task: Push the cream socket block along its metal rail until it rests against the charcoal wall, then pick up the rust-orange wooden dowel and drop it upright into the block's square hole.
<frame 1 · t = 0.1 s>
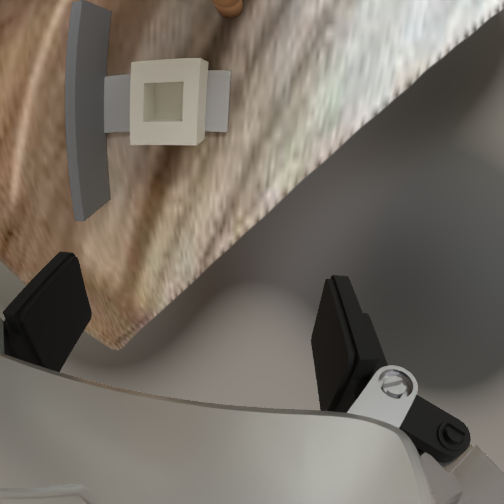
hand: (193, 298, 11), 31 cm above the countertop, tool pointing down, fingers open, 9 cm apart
socket block: (169, 101, 32), point 3 cm above the countertop, slide at 0.0 cm
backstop: (101, 104, 35), on the countertop
dowel: (230, 6, 29), on the countertop
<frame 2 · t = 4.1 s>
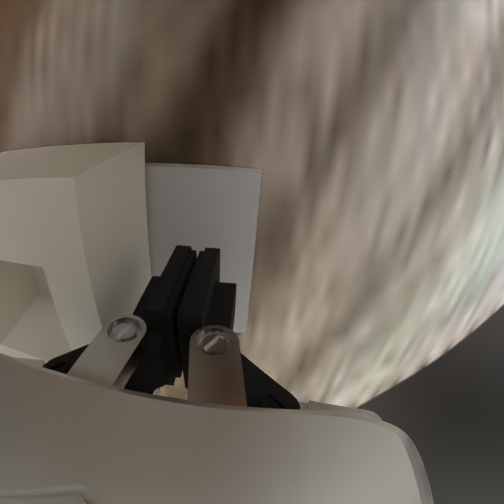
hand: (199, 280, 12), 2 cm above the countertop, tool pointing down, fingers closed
socket block: (47, 277, 11), point 3 cm above the countertop, slide at 1.8 cm, touching gripper
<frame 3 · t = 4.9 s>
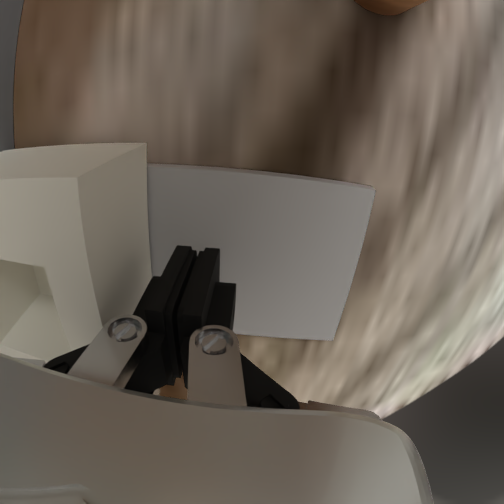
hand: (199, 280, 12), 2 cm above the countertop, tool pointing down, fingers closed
socket block: (47, 277, 11), point 3 cm above the countertop, slide at 6.3 cm, touching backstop, gripper
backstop: (18, 234, 14), on the countertop
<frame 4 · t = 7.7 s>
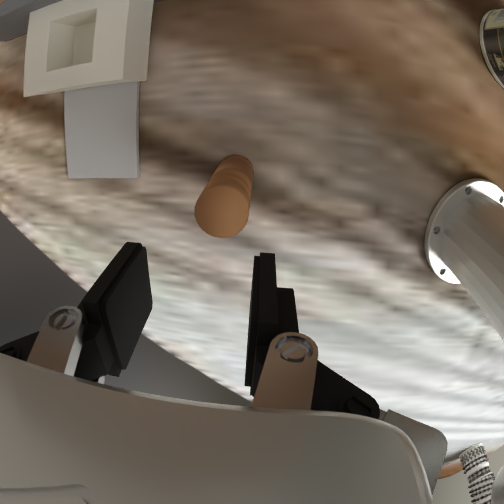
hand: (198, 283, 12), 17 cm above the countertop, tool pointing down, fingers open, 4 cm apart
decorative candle: (470, 449, 61), on the countertop
socket block: (85, 42, 18), point 3 cm above the countertop, slide at 6.3 cm, touching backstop
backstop: (108, 2, 19), on the countertop
dowel: (235, 172, 27), on the countertop
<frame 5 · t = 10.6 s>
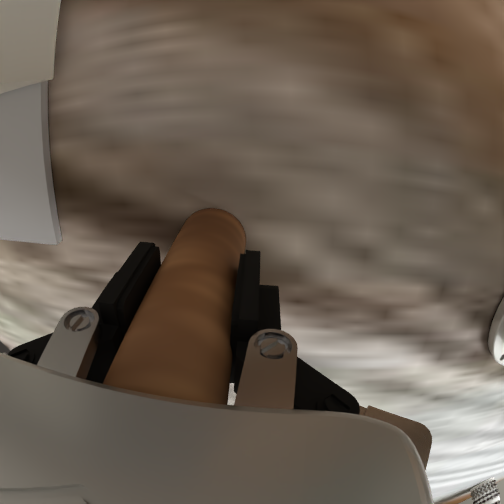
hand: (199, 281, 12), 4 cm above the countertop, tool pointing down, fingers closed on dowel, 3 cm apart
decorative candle: (481, 483, 49), on the countertop
dowel: (213, 239, 15), on the countertop, touching gripper
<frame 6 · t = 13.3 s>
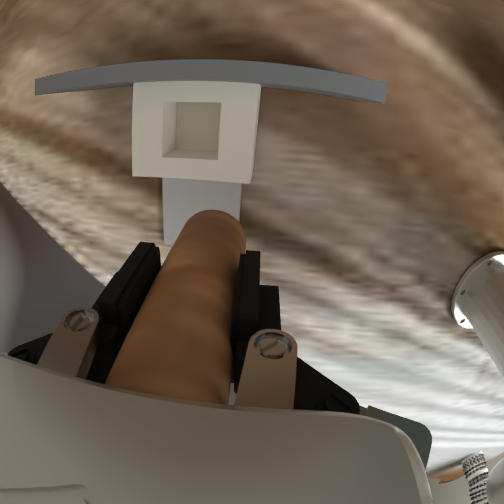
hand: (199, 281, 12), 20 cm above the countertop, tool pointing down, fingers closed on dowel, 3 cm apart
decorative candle: (471, 457, 66), on the countertop
socket block: (197, 127, 25), point 3 cm above the countertop, slide at 6.3 cm, touching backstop
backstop: (208, 76, 25), on the countertop
dowel: (213, 240, 15), point 16 cm above the countertop, touching gripper
when the fingers open (7 cm above the countertop, at t = 16.3 s): dowel drops 1 cm, resting on socket block.
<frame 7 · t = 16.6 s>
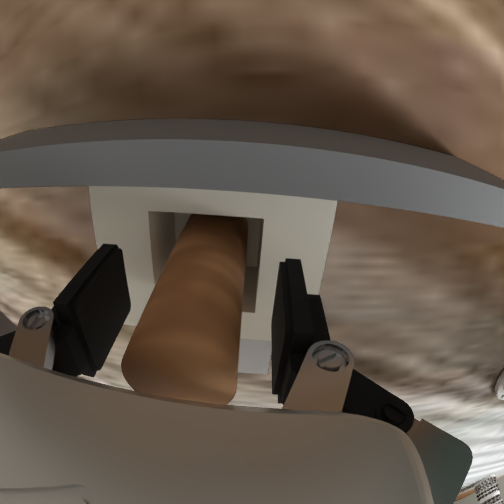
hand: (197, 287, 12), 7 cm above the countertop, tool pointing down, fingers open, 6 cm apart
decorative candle: (484, 479, 58), on the countertop
socket block: (212, 239, 15), point 3 cm above the countertop, slide at 6.3 cm, touching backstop, dowel
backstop: (224, 133, 16), on the countertop
dowel: (217, 227, 16), point 2 cm above the countertop, touching socket block
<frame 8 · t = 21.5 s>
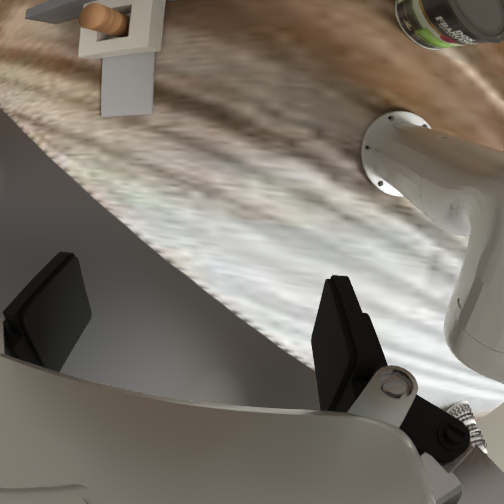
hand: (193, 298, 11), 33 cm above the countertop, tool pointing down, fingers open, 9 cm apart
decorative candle: (456, 408, 72), on the countertop
socket block: (121, 25, 29), point 3 cm above the countertop, slide at 6.2 cm, touching dowel
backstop: (134, 1, 30), on the countertop
dowel: (126, 27, 30), point 2 cm above the countertop, touching socket block
coffee can: (424, 18, 29), on the countertop
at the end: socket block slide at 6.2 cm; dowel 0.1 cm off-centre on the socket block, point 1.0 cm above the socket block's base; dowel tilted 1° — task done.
